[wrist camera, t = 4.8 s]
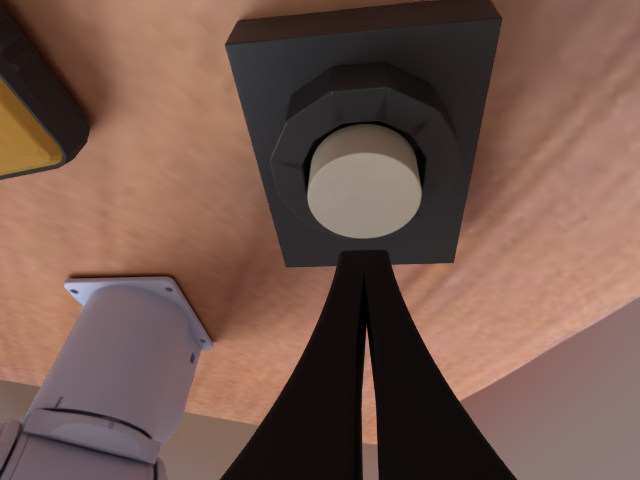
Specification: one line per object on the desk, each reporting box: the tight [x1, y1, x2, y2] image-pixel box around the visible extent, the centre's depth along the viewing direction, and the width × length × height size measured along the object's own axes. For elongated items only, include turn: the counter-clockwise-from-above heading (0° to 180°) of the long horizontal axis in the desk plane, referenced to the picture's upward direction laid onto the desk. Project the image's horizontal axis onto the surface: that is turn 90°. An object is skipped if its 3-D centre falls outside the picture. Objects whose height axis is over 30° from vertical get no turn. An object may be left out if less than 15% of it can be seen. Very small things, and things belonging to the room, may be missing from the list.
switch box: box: [225, 0, 502, 267], centre depth 18 cm, size 12×9×4 cm
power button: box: [307, 124, 422, 238], centre depth 15 cm, size 4×4×2 cm
